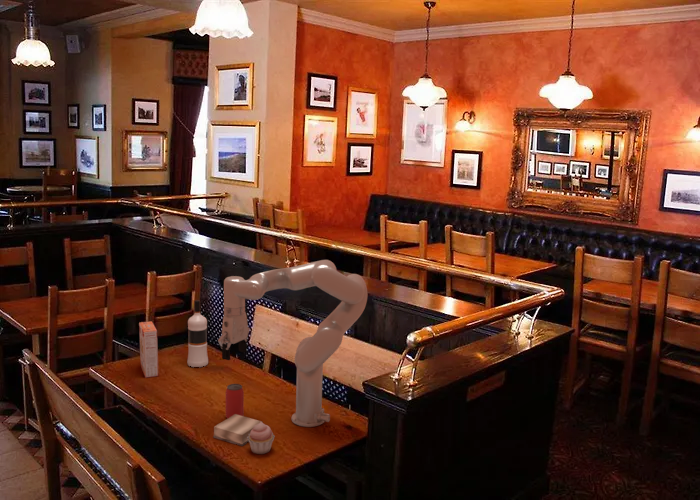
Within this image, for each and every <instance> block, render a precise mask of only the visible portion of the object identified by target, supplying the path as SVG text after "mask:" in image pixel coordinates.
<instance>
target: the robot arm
mask: <svg viewBox="0 0 700 500" xmlns="http://www.w3.org/2000/svg"><path fill="white" fill-rule="evenodd" d="M311 287H312V288H313V287H316V288H318V289H320V290H322V291H323V292H325V293H327V294H329V295H330V296H332V297H334V298H336V299H338V300H339V301H340V302H339V304H338V305H337V306H336V308H335V309H333V310H332V312H331V313H329V315H327V317H326V318H325V319H323V320H322V321H321V322H320V323H319V325H318V327H317V329H316V332H315V333H314V334H313V335H312V336H308V337H305V338H303V339H302V340H301V341H300V342H299V344H298V345H297V348H296V350H295V351H296V352H295V354H294V364H295V367H296V385H295V386H296V391H295V393H296V394H295V396H296V397H295V412H294V413H293V414H292V416H291V421H292V423H293V424H295V425H297V426H299V427H304V428H312V427H317V426H321V425H323V424H324V423H325V422H327V423H329V422H330V420H331V414H330V413H325V408H324V407H322V406H323V405H322V403H323V402H322V401H323V370H324V364H325V362H326V361H328V360H329V358H330V357H331V356H333V354H335V352H337V350H338V349H339V348H340V347H341V345H342V342H343V337H344V335H345V333H346V332H347V331H348V330H349V329H350V328H351V327H352V326H353V325H354V323H356V322H357V321H358V319H359V318H360V317H361V315H362V314H363V312H364V310H365V308H366V306H367V302H368V297H369V296H368V293H369V292H368V288H367V283H366V281H365V279H364V278H363V277H362V276H361V275H360V274H357V273H352V274H349V275H347V276H346V275H344V274H343V273H342V272H339V271H338V270H337V267H336V265H335V263H334V262H332V261H331V260H329V259H321V260H317V261H311V262H308V263H304V264H300V265H295V266H291V267H284V268H277V269H271V270H266V271H263V272H258V273H255V274H253V275H252V276H250V277H249V278H248V279H244V277H242V276H239V275H238V276H237V275H235V276H234V275H231V276H227V277H225V279H224V280H223V319H222V326H221V328H222V329H221V336H220V337H219V338H218V340H217V342H218V344H219V347H220V349H221V358H222V360H226V361H230V360H231V349H230V347H231V345H232V344H233V345H234V344H237V343H238V352H241V353H246V352H247V342H248V337H249V335H250V334H249V333H250V330H251V328H250V327H249V326H248V317H247V316H248V315H247V312H246V300H250V301H256V300H261V298H263V297H264V295H265V293H267V292H269V291H270V292H271V291H275V290H280V289H288V290H291V291H300V290H304V289H307V288H311Z"/></svg>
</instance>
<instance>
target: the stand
mask: <svg viewBox="0 0 700 500" xmlns="http://www.w3.org/2000/svg"><path fill="white" fill-rule="evenodd" d="M260 422H262V423H263V421H261V420H257V419H254V418H250V417H247V416H245V415H243V416H240V415H237V414H234V415H233V416H231V417H229V418H227V419H225V420H223V421H222V422H220V423H218V424H216V425H215V426H214V427H213V435H212V437H213V438H214V439H217V440H220V441H223V442H227V443H230V444H234V445H236V444H237V446H240V447H243V446H245V445H246V444H248V443H249V440H248V439H247V437H248V436H249V434H250V432H251V430H252V429H253V427H254V426H255V425H257V424H259V423H260ZM247 442H248V443H247Z"/></svg>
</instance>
